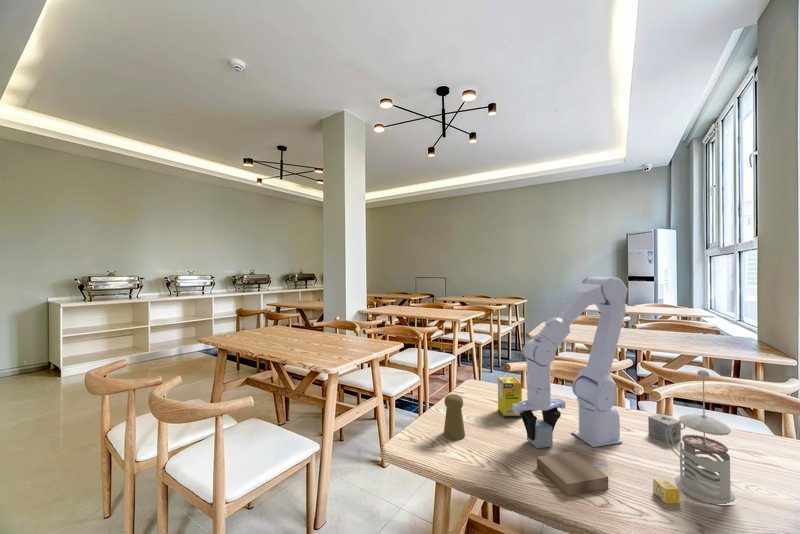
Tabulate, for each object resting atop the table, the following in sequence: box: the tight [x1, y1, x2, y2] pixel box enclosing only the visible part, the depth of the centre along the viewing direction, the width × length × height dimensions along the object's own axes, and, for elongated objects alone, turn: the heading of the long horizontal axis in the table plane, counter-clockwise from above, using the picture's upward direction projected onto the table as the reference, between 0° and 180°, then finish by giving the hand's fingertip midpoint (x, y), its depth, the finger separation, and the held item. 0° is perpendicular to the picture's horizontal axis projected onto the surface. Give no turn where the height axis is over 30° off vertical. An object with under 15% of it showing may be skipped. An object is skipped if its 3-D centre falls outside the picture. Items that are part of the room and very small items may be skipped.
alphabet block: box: [652, 478, 681, 504], centre depth 67 cm, size 3×3×3 cm
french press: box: [666, 369, 736, 505], centre depth 70 cm, size 10×12×25 cm
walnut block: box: [536, 451, 609, 498], centre depth 74 cm, size 10×10×3 cm
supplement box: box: [497, 376, 523, 419], centre depth 106 cm, size 6×6×11 cm
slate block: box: [526, 418, 554, 449], centre depth 88 cm, size 4×4×5 cm
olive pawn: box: [443, 393, 466, 441], centre depth 94 cm, size 6×6×11 cm
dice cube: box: [647, 413, 682, 444], centre depth 91 cm, size 5×5×5 cm
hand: (539, 437), depth 88 cm, fingers closed on slate block, 4 cm apart
